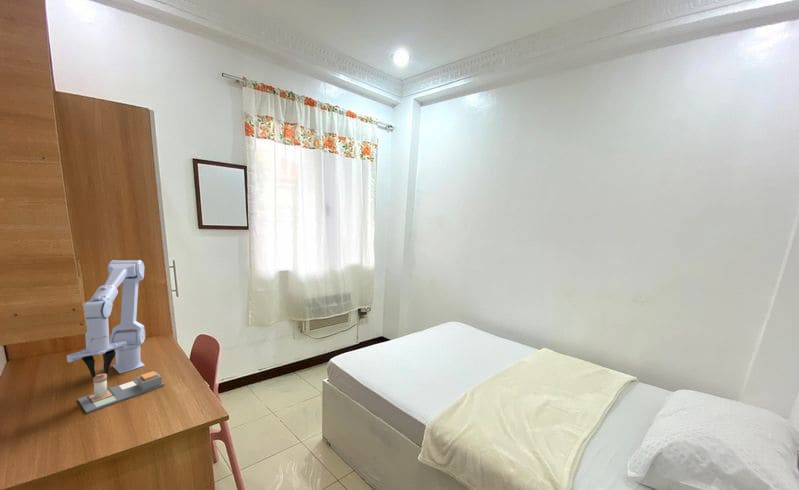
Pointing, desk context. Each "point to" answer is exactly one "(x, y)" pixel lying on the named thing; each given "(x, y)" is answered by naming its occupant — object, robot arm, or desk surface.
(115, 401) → the grey sorting board
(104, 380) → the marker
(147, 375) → the button
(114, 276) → the robot arm
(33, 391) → the desk surface
